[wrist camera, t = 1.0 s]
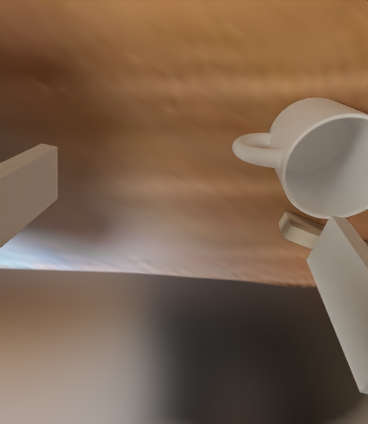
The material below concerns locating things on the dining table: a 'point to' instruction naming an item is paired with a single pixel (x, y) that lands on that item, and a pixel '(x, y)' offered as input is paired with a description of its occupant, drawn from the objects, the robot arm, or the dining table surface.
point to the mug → (315, 156)
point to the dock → (300, 230)
